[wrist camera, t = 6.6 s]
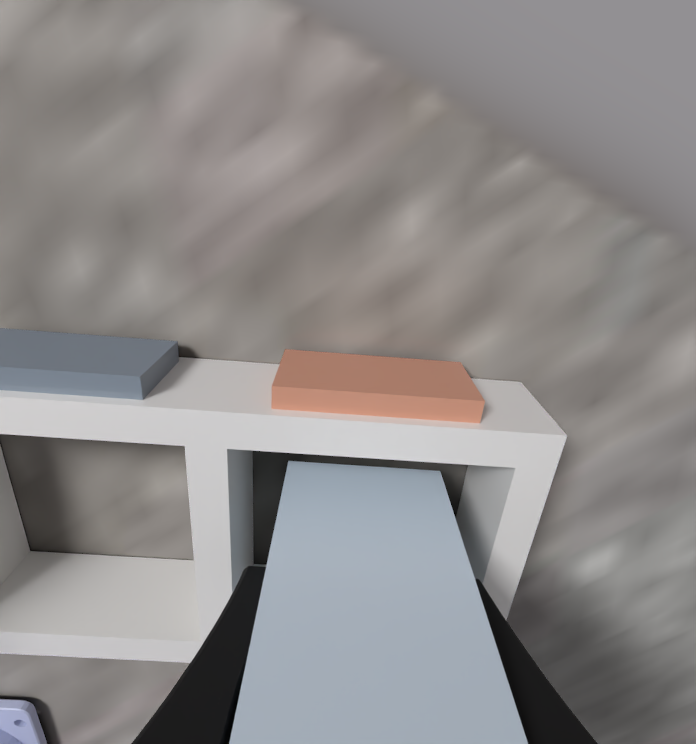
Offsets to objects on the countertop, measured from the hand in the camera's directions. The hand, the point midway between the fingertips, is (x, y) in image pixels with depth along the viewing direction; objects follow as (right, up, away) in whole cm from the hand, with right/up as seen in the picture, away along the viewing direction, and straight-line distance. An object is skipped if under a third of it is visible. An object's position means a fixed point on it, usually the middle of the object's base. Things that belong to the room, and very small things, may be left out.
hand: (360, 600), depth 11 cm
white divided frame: (-4, +2, +4) cm, 6 cm away
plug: (0, +1, +3) cm, 3 cm away
